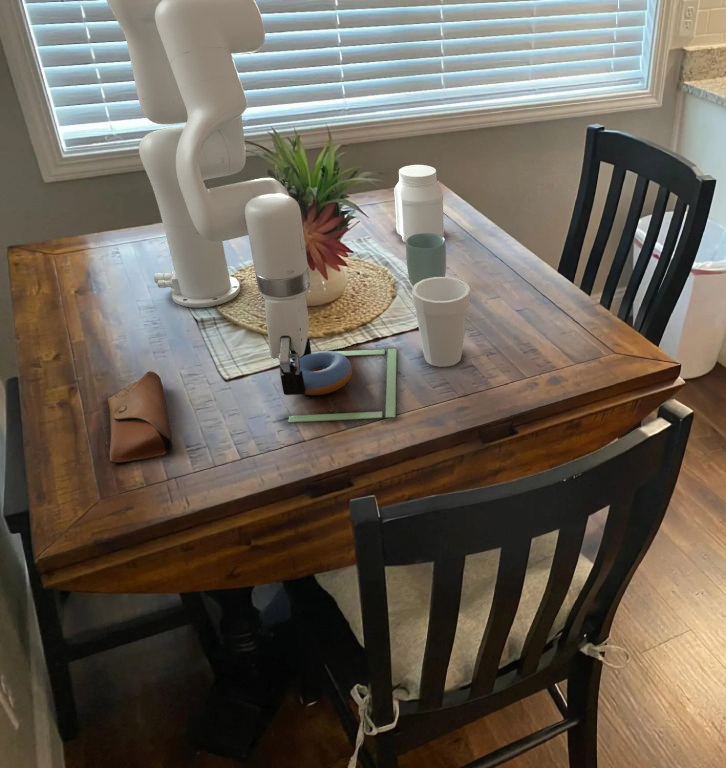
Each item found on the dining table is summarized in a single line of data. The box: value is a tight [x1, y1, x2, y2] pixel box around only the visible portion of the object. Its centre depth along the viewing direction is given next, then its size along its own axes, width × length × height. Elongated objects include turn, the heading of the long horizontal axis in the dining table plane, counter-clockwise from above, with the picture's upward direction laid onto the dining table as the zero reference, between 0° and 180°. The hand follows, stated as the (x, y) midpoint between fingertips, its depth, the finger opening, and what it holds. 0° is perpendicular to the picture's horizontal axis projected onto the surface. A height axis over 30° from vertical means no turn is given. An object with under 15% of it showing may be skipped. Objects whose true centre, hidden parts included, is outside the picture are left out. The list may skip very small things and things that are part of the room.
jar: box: [393, 164, 445, 244], centre depth 170 cm, size 12×10×15 cm
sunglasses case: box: [107, 370, 173, 464], centre depth 111 cm, size 18×7×7 cm, turn 26°
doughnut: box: [292, 350, 353, 396], centre depth 121 cm, size 10×10×5 cm
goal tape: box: [287, 348, 398, 424], centre depth 122 cm, size 16×20×1 cm
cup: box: [405, 233, 447, 288], centre depth 149 cm, size 8×8×10 cm
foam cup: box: [411, 276, 471, 368], centre depth 126 cm, size 10×9×13 cm
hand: (298, 376), depth 121 cm, fingers open, 9 cm apart
